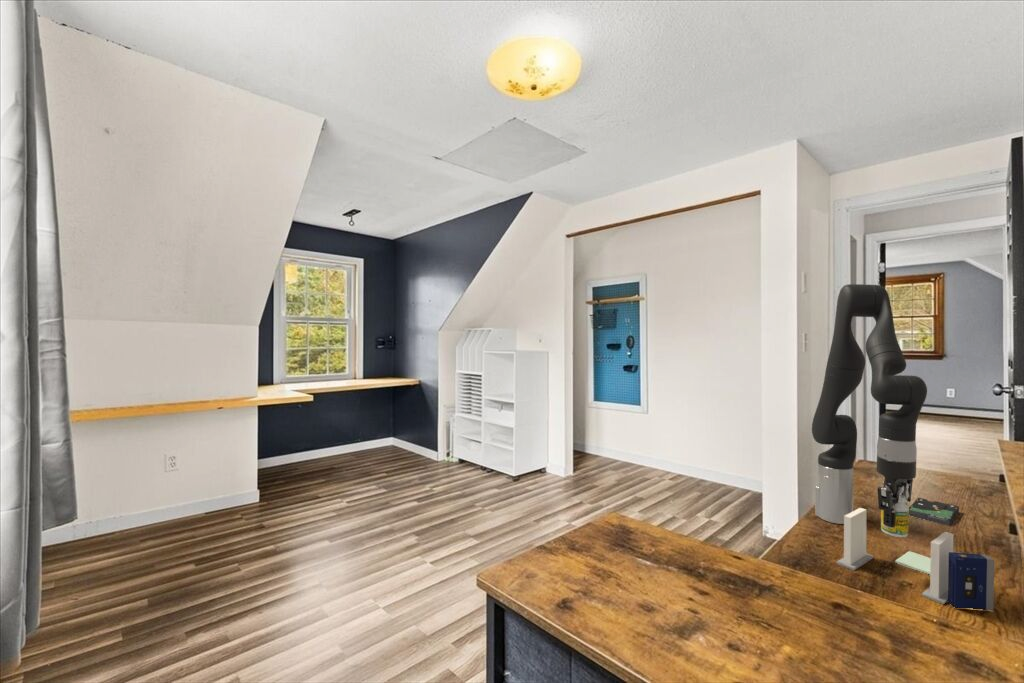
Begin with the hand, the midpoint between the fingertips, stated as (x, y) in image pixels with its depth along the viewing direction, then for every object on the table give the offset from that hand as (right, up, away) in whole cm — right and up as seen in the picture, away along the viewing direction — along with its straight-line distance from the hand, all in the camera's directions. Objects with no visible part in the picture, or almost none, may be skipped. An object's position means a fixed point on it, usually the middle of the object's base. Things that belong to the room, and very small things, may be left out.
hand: (894, 522), depth 116 cm
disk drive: (+41, -11, +35) cm, 55 cm away
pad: (+11, -13, +5) cm, 18 cm away
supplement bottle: (0, -3, 0) cm, 3 cm away
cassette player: (+6, -14, -13) cm, 20 cm away
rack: (+1, -13, 0) cm, 13 cm away
